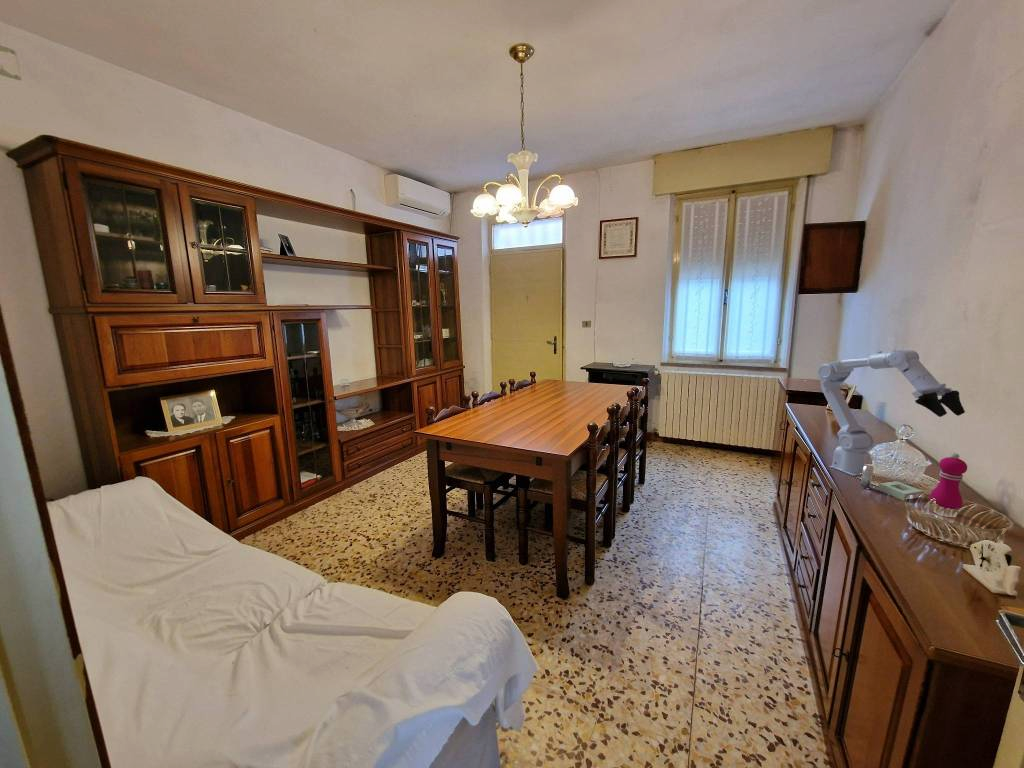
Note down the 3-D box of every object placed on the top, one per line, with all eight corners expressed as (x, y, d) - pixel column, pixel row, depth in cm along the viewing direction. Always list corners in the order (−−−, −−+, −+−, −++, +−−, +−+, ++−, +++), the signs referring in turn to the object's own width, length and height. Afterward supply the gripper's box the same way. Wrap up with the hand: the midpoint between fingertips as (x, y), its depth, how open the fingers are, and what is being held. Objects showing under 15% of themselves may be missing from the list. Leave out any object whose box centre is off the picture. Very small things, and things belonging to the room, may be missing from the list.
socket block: (878, 490, 147) (879, 483, 146) (895, 487, 148) (896, 481, 148) (903, 500, 139) (905, 493, 139) (921, 497, 141) (923, 491, 140)
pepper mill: (935, 516, 129) (947, 456, 125) (921, 505, 136) (933, 448, 132) (965, 520, 127) (979, 459, 123) (950, 509, 133) (963, 450, 129)
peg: (857, 486, 150) (861, 465, 149) (864, 485, 151) (867, 464, 149) (866, 489, 148) (869, 468, 146) (872, 488, 148) (875, 467, 146)
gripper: (916, 373, 133) (947, 409, 125) (950, 371, 136) (982, 406, 128) (896, 385, 138) (925, 420, 131) (929, 384, 141) (959, 418, 134)
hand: (952, 414), depth 130 cm, fingers open, 7 cm apart
